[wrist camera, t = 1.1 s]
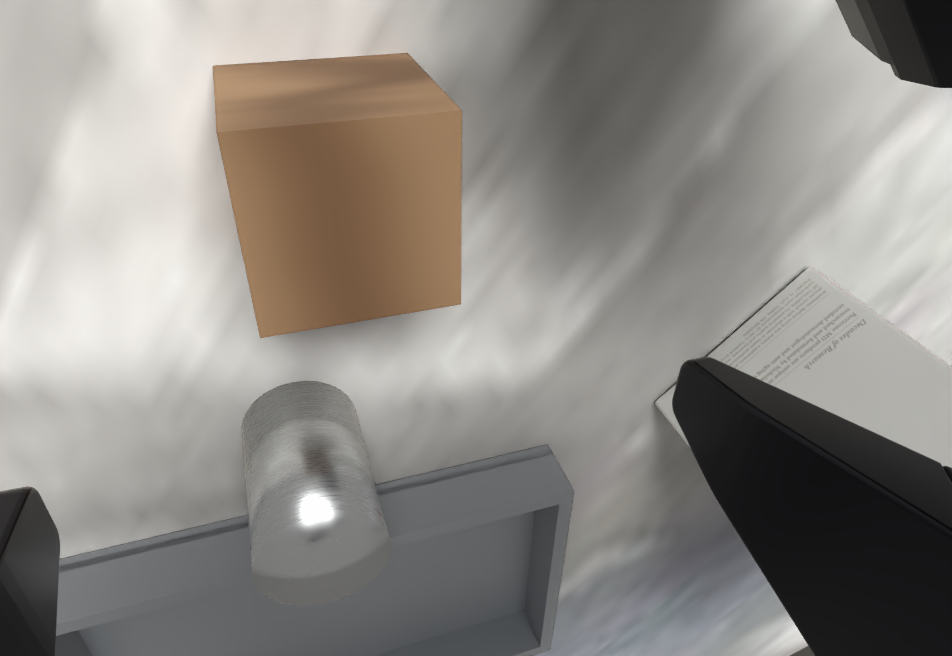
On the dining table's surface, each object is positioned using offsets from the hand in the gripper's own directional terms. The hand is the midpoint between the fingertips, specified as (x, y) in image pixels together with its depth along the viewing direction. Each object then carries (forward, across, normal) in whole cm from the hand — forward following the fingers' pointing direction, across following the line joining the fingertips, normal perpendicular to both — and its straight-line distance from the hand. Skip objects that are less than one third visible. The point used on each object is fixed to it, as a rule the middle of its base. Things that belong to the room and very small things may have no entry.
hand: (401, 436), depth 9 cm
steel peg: (+12, +1, +10) cm, 16 cm away
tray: (+12, +1, +20) cm, 24 cm away
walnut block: (+12, 0, 0) cm, 12 cm away
